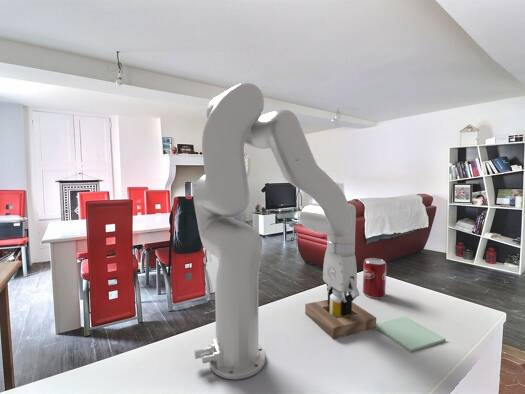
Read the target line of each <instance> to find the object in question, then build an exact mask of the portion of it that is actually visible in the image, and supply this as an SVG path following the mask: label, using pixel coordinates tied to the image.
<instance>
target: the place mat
mask: <svg viewBox="0 0 525 394" xmlns="http://www.w3.org/2000/svg"><path fill="white" fill-rule="evenodd" d="M375 329H377V330H378V331H379V332H381V333H382V334H384V335H385V336H386V337H388V338H389V339H391V340H393V342H395V343H397V344H398V345H400V346H401V347H402V348H404V349H405V350H407V351H409V352H410V353H412V352H414V351H415V352H416V351H418V350H422V349H424V348H427V347H430V346H433V345H437V344H440V343H443V342H446V338H445V337H444V336H442V335H440V334H438V333H436V332H435V331H433V330H431V329H429V328H428V327H426V326H424V325H423V324H421V323H419V322H417V321H415V320H414V319H412V318H410V317H408V316H402V317H401V316H400V317H397V318H393V319H390V320H386V321H382V322H381V321H379V322H376V328H375Z"/></svg>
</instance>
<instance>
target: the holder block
mask: <svg viewBox="0 0 525 394" xmlns="http://www.w3.org/2000/svg"><path fill="white" fill-rule="evenodd" d="M304 310H305V312H304V313H305V315H306V316H307V317H308V318H310V319H311V321H313V322H314V323H315V324H316V325H317V326H318V327H319V328H320V329H321V330H323V332H324V333H326V334H327V335H328V337H330V338H331V339H332V340H335V339H338V338H342V337H346V336H350V335H354V334H355V335H356V334H358V333H362V332H366V331H370V330H374V329H377V328H376V323H377V317H376V316H375V315H374V314H371V312H368V311H367V310H366V309H364V308H362V307H361V306H359V305H357V304H356V303H355V302H353V301H352V313H351V314H349V316H346V317H342V318H337V319H336V318H335V317H334V316H332V315H331V314H330V313H329V311H330V306H329V305H328V299H325V300H319V301H315V302H309V303H305V308H304Z"/></svg>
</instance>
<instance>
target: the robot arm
mask: <svg viewBox="0 0 525 394" xmlns="http://www.w3.org/2000/svg"><path fill="white" fill-rule="evenodd" d="M264 107H265V99H264V94H263V92H262V90H261V89H260V88H259V86H257V85H255V84H254V83H249V82H241V83H237V84H236V85H234V86H231V88H228V89H227V90H225V91H224V92H223V93H220V94H219V95H217V96H215V97H213V99H212V100H211V101H210V102H209V103H208V105H207V107H206V123H205V125H204V128H203V132H202V139H201V150H202V159H203V168H204V169H203V170H204V174H203V175H202V176H201V177H200V178H199V179H198V180H197V181H196V182H195V185H194V188H193V193H192V194H193V205H194V211H195V215H196V216H195V217H196V222H197V228H198V233H199V237H200V242H201V244H202V246H203V248H204V249H205V250H206V252H208V254H209V253H210V254H211V255H213V256H214V257H215V258H217V260H218V265H217V270H216V275H215V280H214V281H215V282H214V283H215V284H214V295H215V297H214V299H215V300H214V301H215V303H214V304H215V307H214V308H215V338H212V343H211V344H208V346H205V347H200V348H195V349H194V351H193V353H194V360H197V359H201V362H202V363H201V364H202V365H204V364H207V363H208V364H209V367H210V369H211V371H212V372H213V373H214V374H215V375H217V376H219V377H220V378H224V379H228V380H242V379H247V378H251V377H252V376H254V375H256V374H258V373H259V372H260V371H261V370H262V369H263V367H264V365H265V362H266V352H265V349H264V348H263V347H262V346H261V345H260V344H259V277H260V266H261V261H262V255H263V249H264V248H263V245H264V244H263V241H262V237H261V234H260V233H259V232H258V231H257V229H256V228H254V227H253V226H252V225H250V224H248V223H246V222H243V221H241V220H237V219H235V217H238V216H241V215H242V214H244V213H245V212H246V211H247V210H248V208H249V205H250V201H251V196H250V188H249V187H250V186H249V182H248V173H247V168H246V162H245V160H246V159H245V145H248V146H250V147H254V148H256V149H262V150H266V149H271V152H272V154H273V156H274V158H275V160H276V163H277V164H278V166H279V169H280V171H281V173H282V175H283V177H284V180H285V181H287V183H289V184H291V185H292V186H293V187H295V188H296V189H298V190H300V191H302V192H304V193H305V194H307V195H308V196H310V197H311V198H312V199H313V200H314V201H315V202H316V203H310V204H307V205H306V206H304V207H303V208H302V210H301V211H300V214H299V220H300V224H301V225H302V226H303V227H304V229H306V230H308V231H310V232H315V233H318V234H323V235H327V236H326V240H327V241H326V249H325V252H324V258H323V268H322V269H323V270H322V280H323V281H324V283H325V285H326V292H327V300H328V305H329V306H330V295H331V294H332V293H333V288H335V289H336V290H338V291H339V292H341V293H342V299H343V301H341V315H342V316H344V315H349V314H351V313H352V302H353V301H354V300H355V299H356V298H357V297H359V296H360V291H359V289H358V286H357V285H358V272H357V271H358V269H357V259H356V254H355V253H356V252H355V251H356V220H357V217H356V216H357V209H356V206H355V205H354V204H351V203H348V201H347V198H346V195H345V194H344V191H343V190H342V189H341V187H340V185H338V183H336V182H335V181H334V179H332V178H331V177H330V175H328V174H327V173H326V171H324V170H323V169H322V168H321V167H320V166H319V165H318V164H317V162H316V160H315V157H314V154H313V153H312V151H311V148H310V146H309V143H308V140H307V138H306V135H305V132H304V131H303V128H302V126H301V124H300V121H299V119H298V117H297V116H296V114H295V113H294V112H293V111H291V110H288V109H277V110H273V111H270V112H266V113H264V114H263V112H264ZM346 292H347V294H346ZM346 295H347V296H346Z"/></svg>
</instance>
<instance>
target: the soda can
mask: <svg viewBox="0 0 525 394" xmlns="http://www.w3.org/2000/svg"><path fill="white" fill-rule="evenodd" d="M362 275H363V277H362V293H363V295H364V296H365V297H367V298H370V299H383V298H384V297H386V283H387V281H386V280H387V262H386V261H385V260H383V259H381V258H376V257H375V258H374V257H369V258H365V259H364V261H363V274H362Z"/></svg>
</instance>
